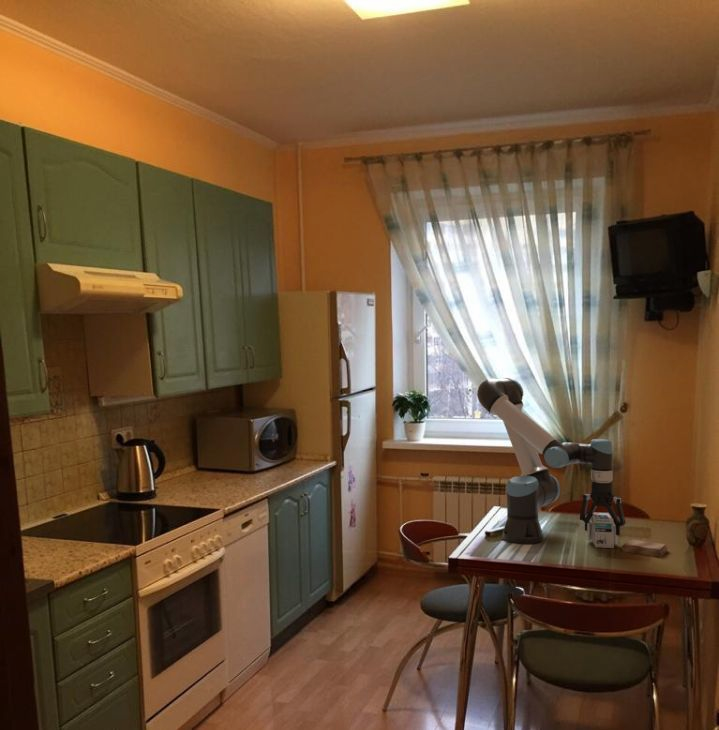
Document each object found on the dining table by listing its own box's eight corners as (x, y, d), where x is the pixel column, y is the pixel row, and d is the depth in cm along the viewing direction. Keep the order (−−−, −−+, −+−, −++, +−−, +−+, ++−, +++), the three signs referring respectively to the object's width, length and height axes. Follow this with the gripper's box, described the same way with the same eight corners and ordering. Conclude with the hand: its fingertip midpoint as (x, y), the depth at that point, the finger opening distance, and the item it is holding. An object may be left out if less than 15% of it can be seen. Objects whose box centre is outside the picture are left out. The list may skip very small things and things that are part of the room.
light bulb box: (614, 548, 240) (614, 519, 240) (594, 547, 242) (594, 518, 241) (609, 540, 251) (609, 512, 250) (590, 539, 252) (590, 511, 252)
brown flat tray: (622, 551, 237) (622, 544, 237) (629, 545, 244) (629, 538, 244) (661, 557, 229) (661, 550, 229) (667, 551, 236) (667, 544, 236)
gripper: (569, 479, 249) (570, 539, 250) (629, 485, 236) (629, 548, 237) (576, 476, 255) (577, 535, 256) (634, 482, 242) (635, 543, 242)
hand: (602, 541), depth 246 cm, fingers closed on light bulb box, 9 cm apart
